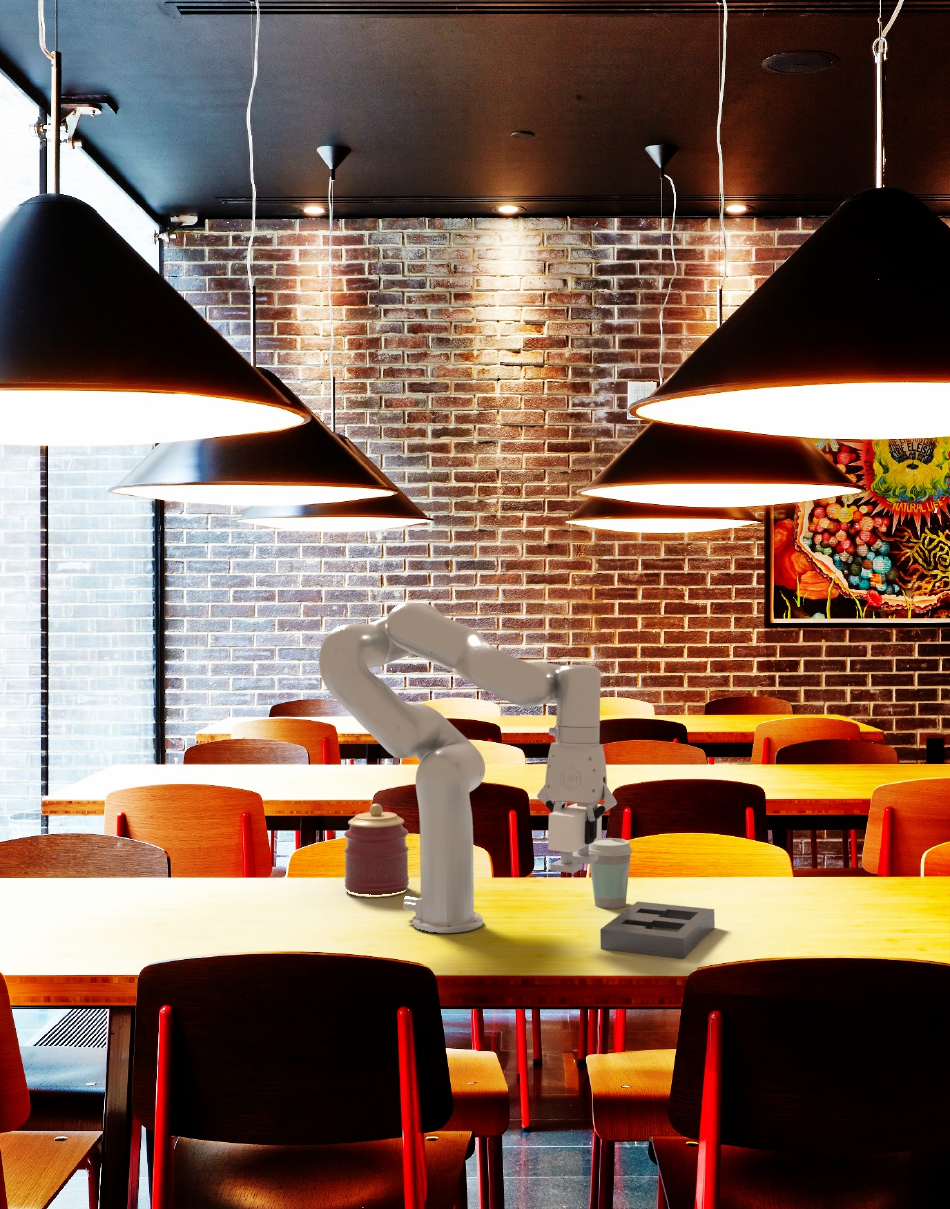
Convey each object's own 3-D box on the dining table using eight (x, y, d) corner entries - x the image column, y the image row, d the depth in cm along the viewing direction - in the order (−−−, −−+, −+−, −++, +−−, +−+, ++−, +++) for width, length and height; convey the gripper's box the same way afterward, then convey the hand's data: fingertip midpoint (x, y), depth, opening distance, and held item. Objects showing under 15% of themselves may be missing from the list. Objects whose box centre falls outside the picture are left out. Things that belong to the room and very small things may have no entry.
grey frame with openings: (600, 948, 183) (600, 929, 183) (637, 919, 201) (637, 901, 201) (683, 958, 177) (683, 938, 177) (714, 927, 195) (714, 909, 195)
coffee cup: (631, 911, 206) (630, 846, 207) (585, 909, 208) (584, 845, 208) (634, 900, 215) (633, 838, 215) (590, 898, 216) (589, 836, 217)
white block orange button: (547, 871, 187) (548, 810, 187) (577, 855, 199) (578, 798, 200) (572, 874, 185) (573, 813, 185) (600, 858, 197) (602, 801, 198)
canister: (414, 884, 230) (413, 799, 231) (401, 899, 217) (400, 809, 218) (353, 883, 232) (353, 798, 233) (337, 898, 219) (336, 808, 220)
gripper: (524, 734, 193) (522, 839, 193) (617, 741, 185) (614, 850, 185) (541, 731, 199) (538, 832, 199) (631, 737, 192) (629, 843, 192)
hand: (575, 840), depth 192 cm, fingers closed on white block orange button, 4 cm apart
